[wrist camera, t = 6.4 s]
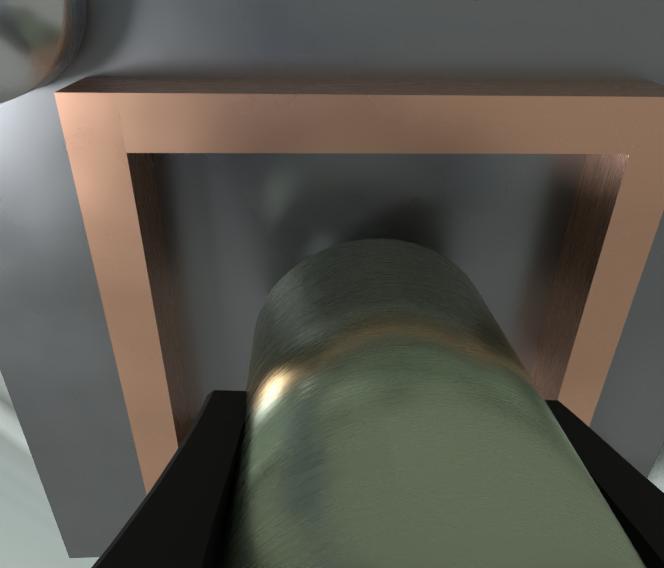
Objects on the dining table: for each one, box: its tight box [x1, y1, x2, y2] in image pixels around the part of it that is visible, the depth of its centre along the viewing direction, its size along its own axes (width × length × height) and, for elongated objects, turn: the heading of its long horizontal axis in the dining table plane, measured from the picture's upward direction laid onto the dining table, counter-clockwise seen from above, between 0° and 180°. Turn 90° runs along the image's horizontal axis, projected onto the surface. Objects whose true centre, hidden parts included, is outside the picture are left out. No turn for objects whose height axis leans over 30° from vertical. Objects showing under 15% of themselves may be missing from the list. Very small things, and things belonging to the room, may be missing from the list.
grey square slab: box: [0, 0, 664, 558], centre depth 13 cm, size 18×18×4 cm
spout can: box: [221, 239, 647, 568], centre depth 8 cm, size 5×5×8 cm
